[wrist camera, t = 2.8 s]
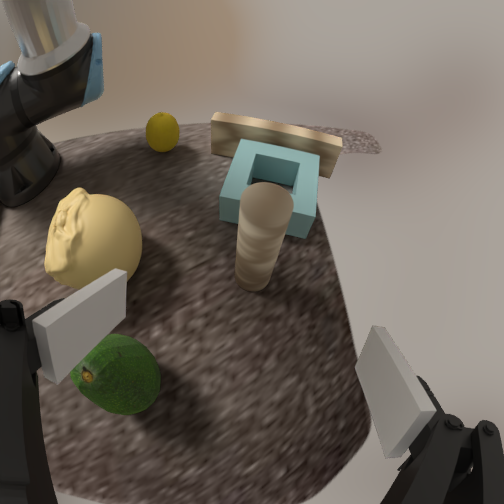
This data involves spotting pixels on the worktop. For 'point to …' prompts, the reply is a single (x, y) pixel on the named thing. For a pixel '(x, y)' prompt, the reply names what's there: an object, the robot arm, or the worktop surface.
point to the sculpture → (91, 239)
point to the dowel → (260, 233)
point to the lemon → (162, 132)
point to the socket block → (276, 170)
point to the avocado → (118, 375)
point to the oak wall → (273, 138)
